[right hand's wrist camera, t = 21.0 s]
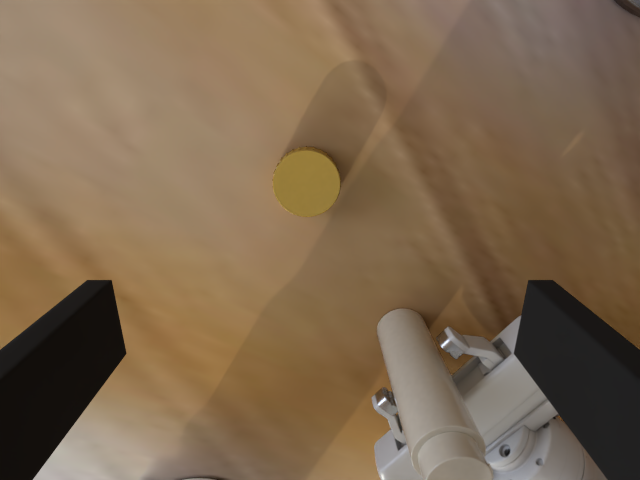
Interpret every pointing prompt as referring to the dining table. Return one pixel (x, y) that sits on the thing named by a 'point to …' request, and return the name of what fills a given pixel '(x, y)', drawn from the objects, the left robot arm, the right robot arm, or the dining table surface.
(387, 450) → the left robot arm
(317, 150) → the lid
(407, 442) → the bottle
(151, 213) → the dining table surface
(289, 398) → the dining table surface
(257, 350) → the dining table surface
